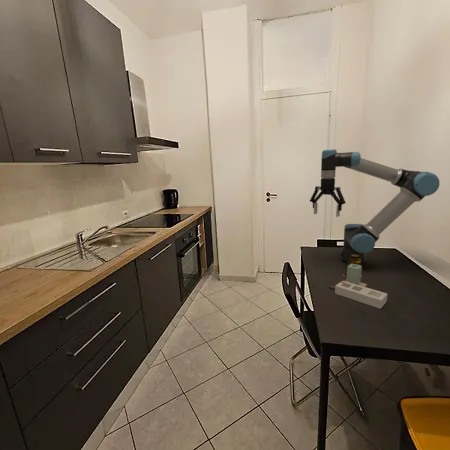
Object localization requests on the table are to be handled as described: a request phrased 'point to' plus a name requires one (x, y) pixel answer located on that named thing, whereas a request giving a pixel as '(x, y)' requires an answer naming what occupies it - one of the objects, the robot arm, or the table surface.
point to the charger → (354, 273)
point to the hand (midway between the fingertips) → (326, 215)
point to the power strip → (361, 294)
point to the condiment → (353, 261)
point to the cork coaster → (360, 283)
